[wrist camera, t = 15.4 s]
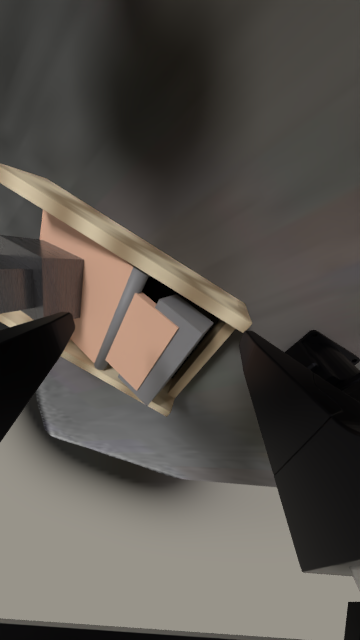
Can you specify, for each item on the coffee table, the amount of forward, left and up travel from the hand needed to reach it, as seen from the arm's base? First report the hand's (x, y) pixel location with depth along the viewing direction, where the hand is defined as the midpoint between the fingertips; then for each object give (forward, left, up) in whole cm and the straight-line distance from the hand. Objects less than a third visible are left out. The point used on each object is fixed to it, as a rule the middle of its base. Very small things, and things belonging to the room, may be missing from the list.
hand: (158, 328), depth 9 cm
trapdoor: (+6, +8, -12) cm, 15 cm away
